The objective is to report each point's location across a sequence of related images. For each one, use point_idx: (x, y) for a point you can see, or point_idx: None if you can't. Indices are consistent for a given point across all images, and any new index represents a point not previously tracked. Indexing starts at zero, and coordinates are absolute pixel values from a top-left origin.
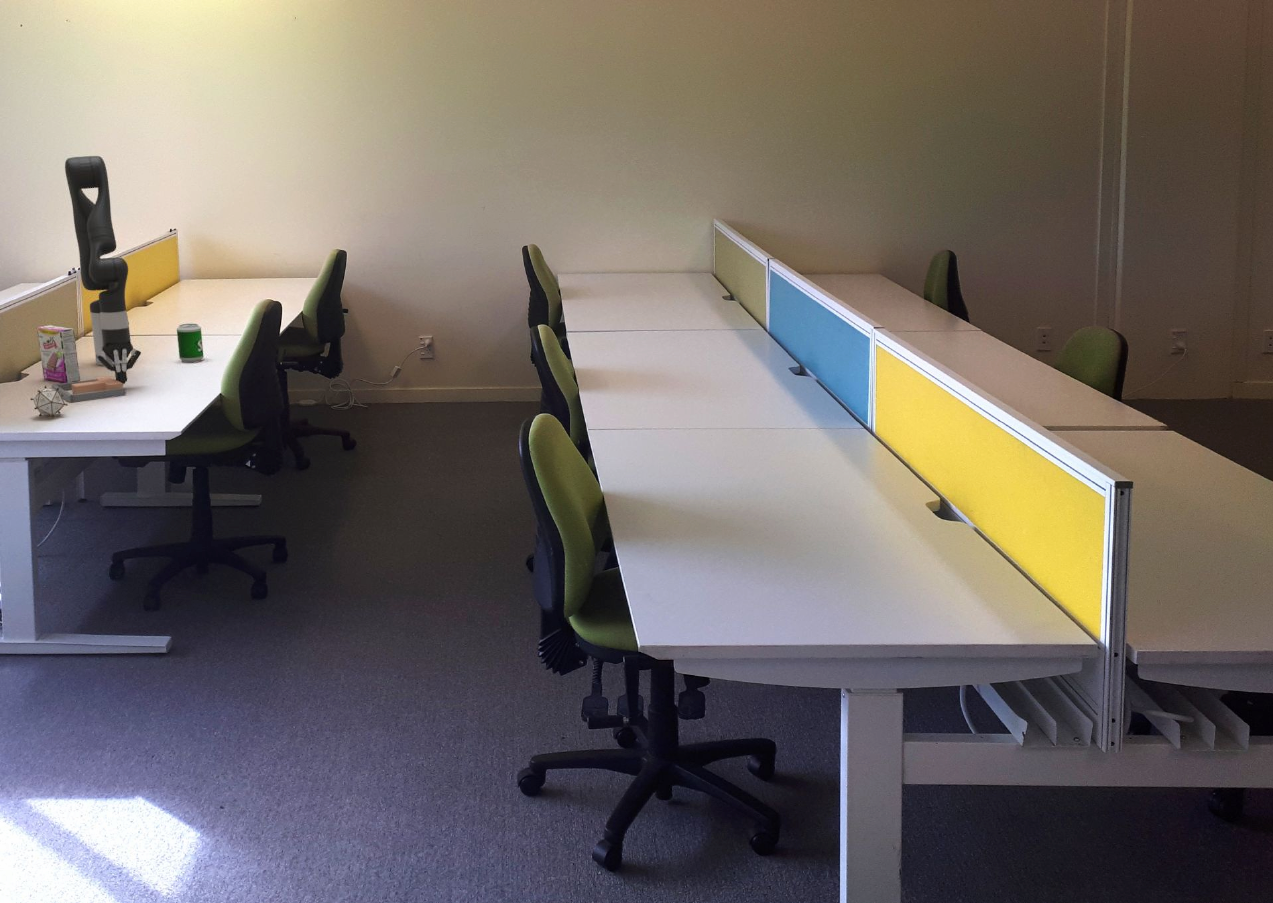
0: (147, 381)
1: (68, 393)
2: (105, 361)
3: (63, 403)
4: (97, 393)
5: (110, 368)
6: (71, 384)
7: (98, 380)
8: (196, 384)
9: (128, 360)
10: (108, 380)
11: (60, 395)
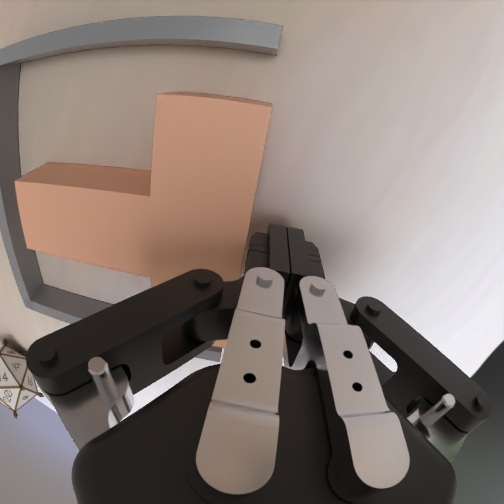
0: (466, 171)
1: (19, 276)
2: (131, 383)
3: (35, 395)
4: None
5: (184, 338)
6: (54, 50)
7: (153, 159)
8: (467, 347)
9: (392, 348)
10: (195, 240)
11: (22, 397)
